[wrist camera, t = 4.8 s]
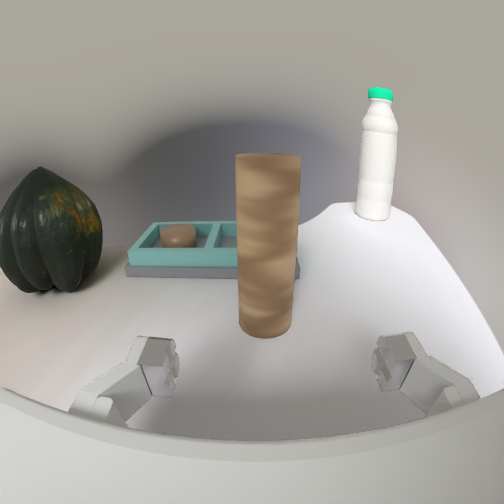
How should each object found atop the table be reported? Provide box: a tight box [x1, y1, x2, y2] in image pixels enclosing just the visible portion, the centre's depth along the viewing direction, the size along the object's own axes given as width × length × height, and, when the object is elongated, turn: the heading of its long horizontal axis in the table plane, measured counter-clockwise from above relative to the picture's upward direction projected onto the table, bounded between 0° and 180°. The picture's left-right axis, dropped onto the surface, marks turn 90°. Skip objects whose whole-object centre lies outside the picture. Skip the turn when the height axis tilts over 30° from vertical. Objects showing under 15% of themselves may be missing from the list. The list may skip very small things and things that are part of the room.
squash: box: [0, 167, 103, 293], centre depth 29 cm, size 14×15×15 cm
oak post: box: [235, 153, 301, 338], centre depth 22 cm, size 4×4×14 cm
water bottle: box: [355, 87, 398, 221], centre depth 48 cm, size 7×7×25 cm
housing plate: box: [125, 221, 300, 278], centre depth 36 cm, size 20×11×4 cm, turn 90°
